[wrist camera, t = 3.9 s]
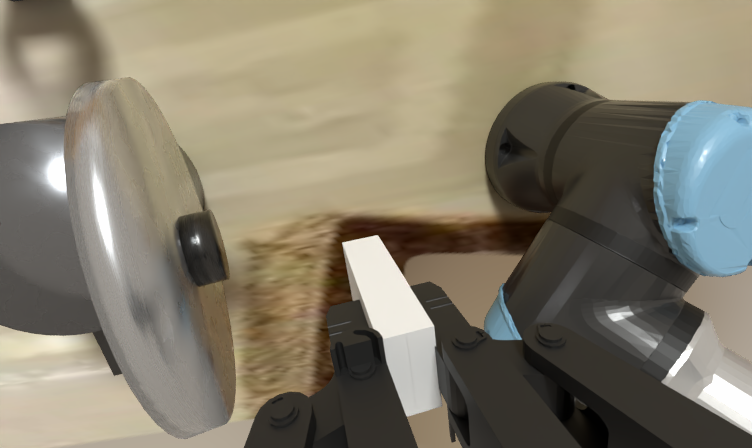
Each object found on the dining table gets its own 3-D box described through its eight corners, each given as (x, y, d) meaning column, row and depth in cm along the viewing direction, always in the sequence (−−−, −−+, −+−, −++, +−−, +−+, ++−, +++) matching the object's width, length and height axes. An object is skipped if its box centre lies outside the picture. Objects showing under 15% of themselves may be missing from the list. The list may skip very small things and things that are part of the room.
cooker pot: (190, 97, 37) (148, 101, 26) (248, 290, 45) (235, 356, 34) (-13, 128, 34) (-155, 147, 23) (86, 327, 42) (15, 412, 31)
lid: (136, 87, 25) (185, 80, 26) (215, 314, 32) (252, 303, 33) (-25, 69, 9) (112, 53, 10) (200, 536, 16) (273, 503, 17)
